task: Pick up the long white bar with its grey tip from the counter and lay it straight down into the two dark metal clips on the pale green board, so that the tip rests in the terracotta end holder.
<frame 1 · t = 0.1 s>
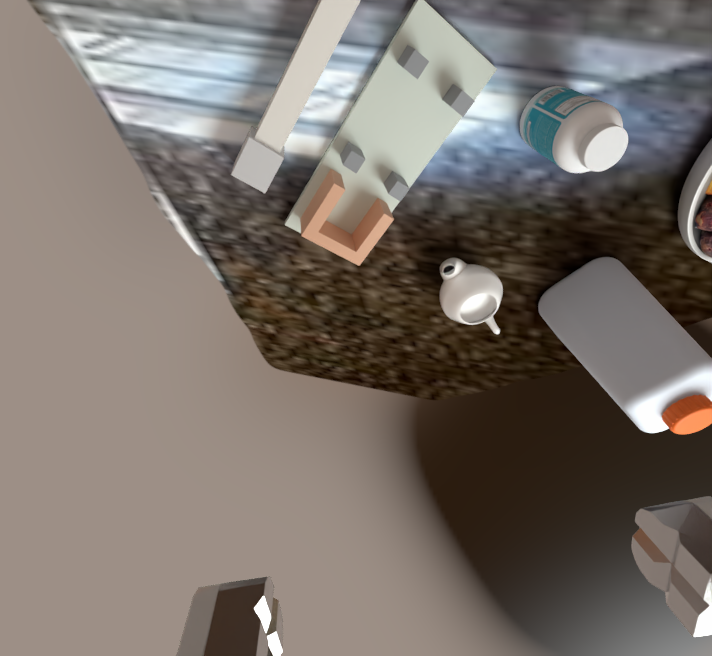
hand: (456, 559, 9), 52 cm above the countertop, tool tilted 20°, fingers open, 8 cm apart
cable board: (380, 151, 54), on the countertop
teapot: (458, 273, 69), on the countertop
pill bottle: (544, 116, 54), on the countertop
white long bar: (308, 56, 46), on the countertop
plastic bottle: (581, 295, 76), on the countertop
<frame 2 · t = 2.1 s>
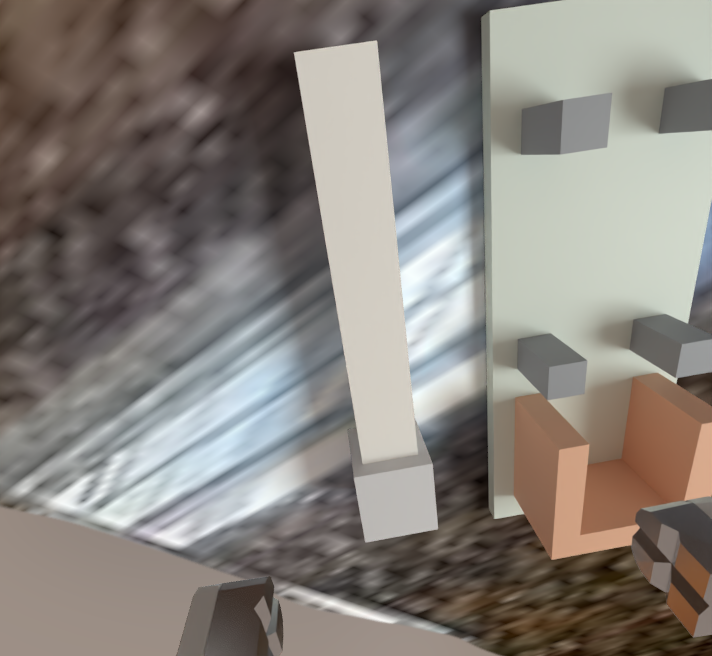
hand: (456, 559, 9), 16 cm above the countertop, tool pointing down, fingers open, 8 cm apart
cable board: (583, 304, 25), on the countertop
white long bar: (360, 274, 23), on the countertop
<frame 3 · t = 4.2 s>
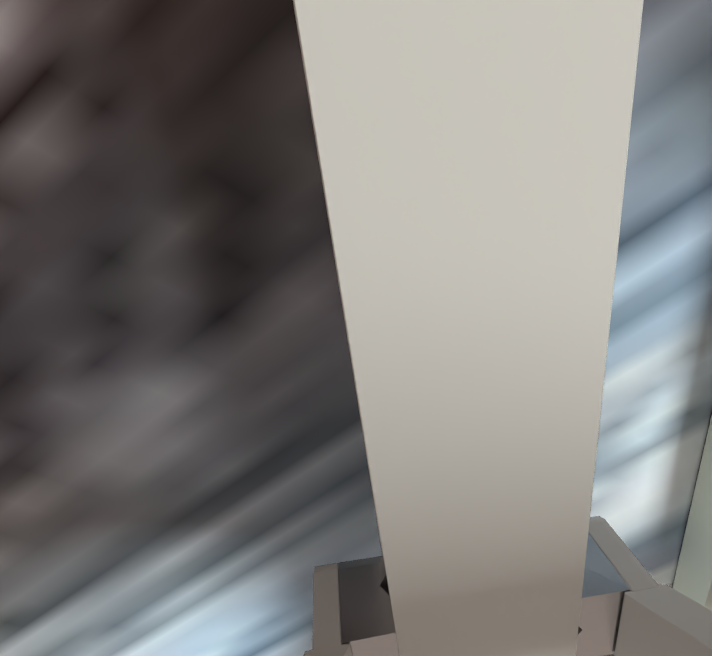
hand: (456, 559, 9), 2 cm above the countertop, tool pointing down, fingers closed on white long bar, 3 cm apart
white long bar: (432, 439, 10), on the countertop, touching gripper
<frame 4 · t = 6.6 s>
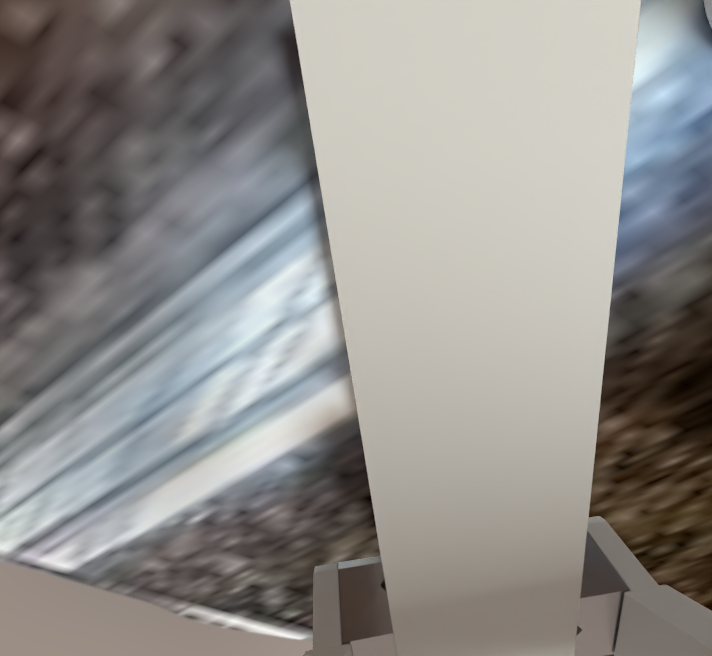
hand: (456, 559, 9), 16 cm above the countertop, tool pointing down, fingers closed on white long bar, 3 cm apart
white long bar: (430, 441, 10), point 14 cm above the countertop, touching gripper
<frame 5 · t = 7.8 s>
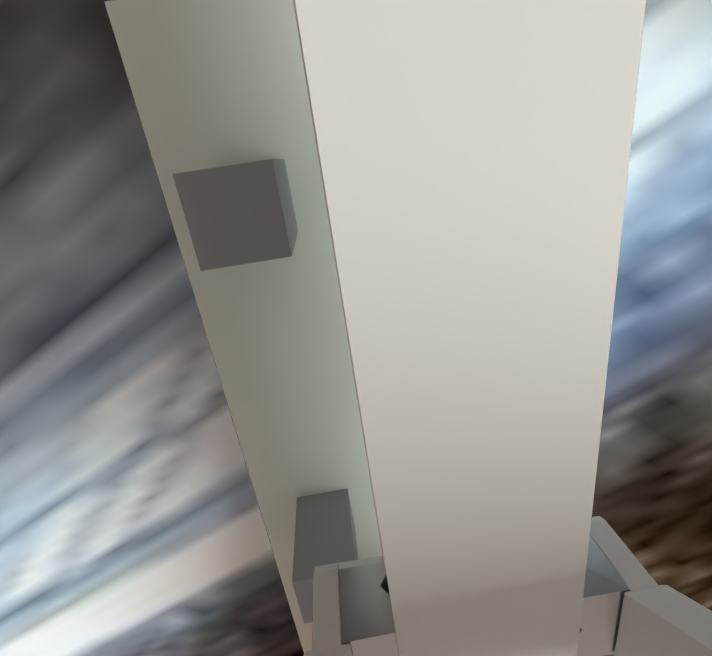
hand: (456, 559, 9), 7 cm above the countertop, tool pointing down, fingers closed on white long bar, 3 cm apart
cable board: (403, 440, 17), on the countertop
white long bar: (432, 442, 10), point 6 cm above the countertop, touching gripper
when the fingers open (3 cm above the countertop, at t = 8.9 s): white long bar stays where it is, resting on cable board.
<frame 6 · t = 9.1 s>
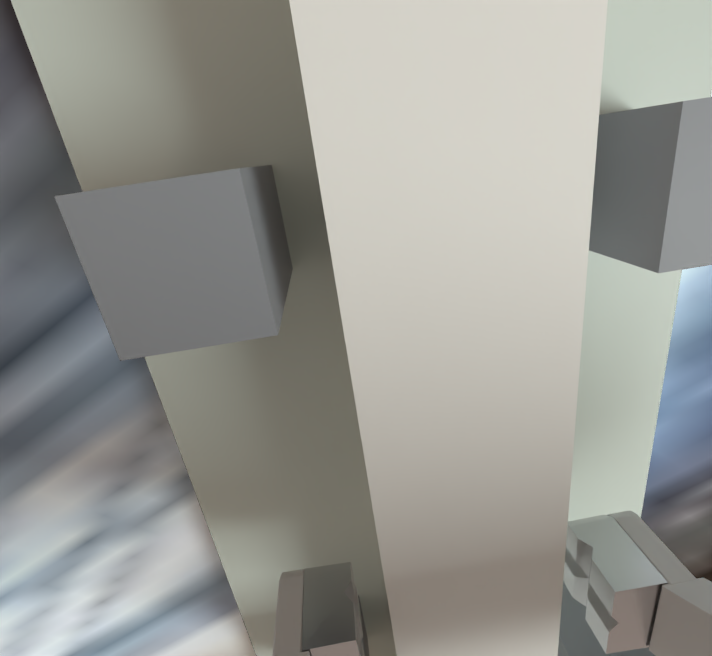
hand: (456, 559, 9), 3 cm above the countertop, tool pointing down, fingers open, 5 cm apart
cable board: (430, 528, 13), on the countertop
white long bar: (425, 429, 10), point 1 cm above the countertop, touching cable board
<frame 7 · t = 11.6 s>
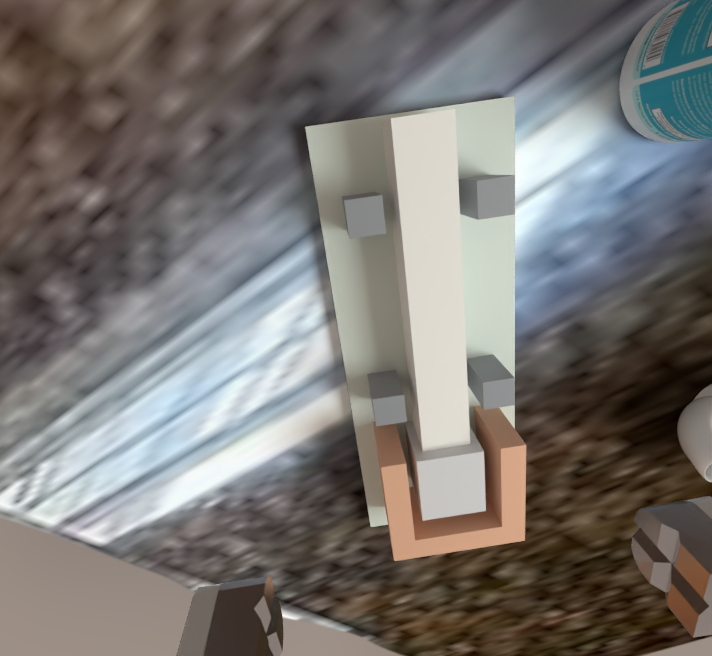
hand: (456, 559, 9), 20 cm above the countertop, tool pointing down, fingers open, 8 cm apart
cable board: (426, 345, 30), on the countertop
pill bottle: (671, 75, 25), on the countertop
white long bar: (423, 289, 27), point 1 cm above the countertop, touching cable board
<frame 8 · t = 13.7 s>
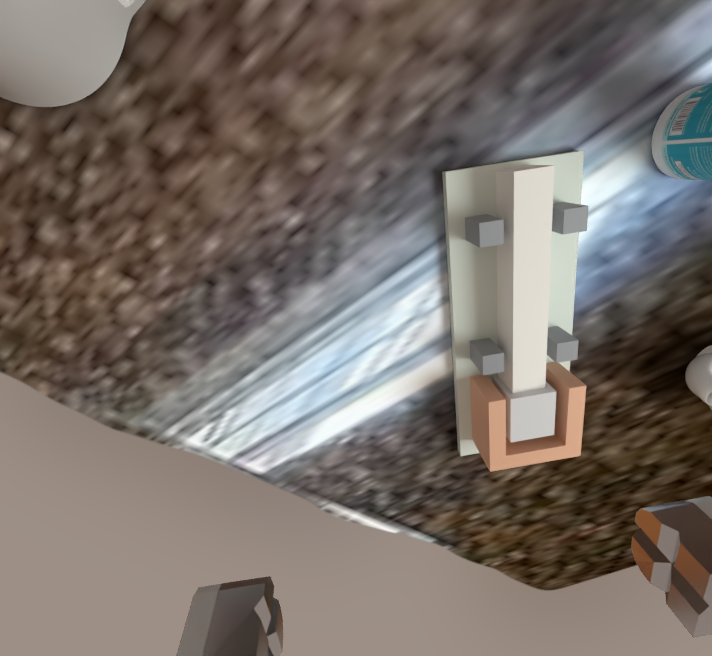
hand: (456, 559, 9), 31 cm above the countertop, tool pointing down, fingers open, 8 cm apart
cable board: (509, 320, 42), on the countertop
teapot: (710, 360, 46), on the countertop
pill bottle: (685, 133, 37), on the countertop
white long bar: (513, 280, 39), point 1 cm above the countertop, touching cable board
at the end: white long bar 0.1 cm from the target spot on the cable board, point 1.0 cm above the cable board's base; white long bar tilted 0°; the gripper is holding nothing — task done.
